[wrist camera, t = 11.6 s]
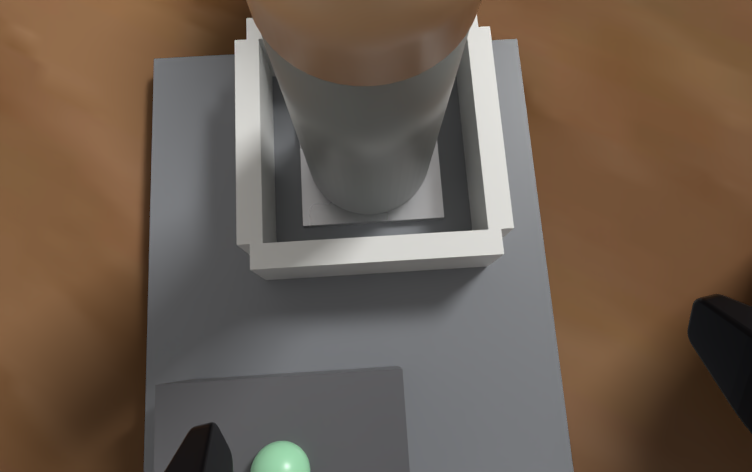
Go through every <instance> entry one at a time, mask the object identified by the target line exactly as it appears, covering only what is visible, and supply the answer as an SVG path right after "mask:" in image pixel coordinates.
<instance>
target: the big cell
mask: <svg viewBox="0 0 752 472" xmlns="http://www.w3.org/2000/svg"><path fill="white" fill-rule="evenodd" d="M246 2H247V4H248V7H249V10H250V12H251V15H252V17H253V20H254V22H255V24H256V26H257V28H258V30H259V31H260V33H261V35H262V38H263V41H264V44H265V47H266V50H267V52H268V55H269V58H270V61H271V64H272V66H273V69H274V72H275V75H276V78H277V80H278V83H279V86H280V89H281V92H282V94H283V97H284V100H285V103H286V106H287V108H288V111H289V114H290V117H291V120H292V122H293V125H294V128H295V131H296V134H297V136H298V139H299V142H300V145H301V148H302V150H303V153H304V156H305V159H306V162H307V164H308V167H309V170H310V173H311V175H312V178H313V180H314V182H315V184H316V186H317V188H318V189H319V190H320V192H321V193H322V194H323V195H324V196H325V197H326V198H327V199H328V200H329V201H331V202H332V203H333V204H335V205H337V206H338V207H340V208H342V209H345V210H347V211H350V212H354V213H359V214H379V213H384V212H388V211H390V210H393V209H396V208H397V207H399V206H401V205H403V204H404V203H406V202H407V201H408V200H410V199H411V198H412V197H413V196H414V195H415V194H416V192H417V191H418V190H419V188H420V187H421V185H422V184H423V182H424V180H425V177H426V175H427V172H428V168H429V165H430V161H431V158H432V155H433V151H434V148H435V145H436V141H437V138H438V134H439V131H440V128H441V124H442V121H443V118H444V114H445V111H446V108H447V104H448V101H449V97H450V94H451V91H452V87H453V84H454V81H455V77H456V74H457V70H458V67H459V64H460V60H461V57H462V54H463V50H464V47H465V44H466V40H467V37H468V33H469V30H470V28H471V26H472V24H473V22H474V19H475V17H476V15H477V12H478V9H479V6H480V3H481V0H246Z"/></svg>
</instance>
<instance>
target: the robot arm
mask: <svg viewBox="0 0 752 472" xmlns="http://www.w3.org/2000/svg"><path fill="white" fill-rule="evenodd" d="M688 337H689V340H690V342H691V344H692V346H693V347H694V349H695V350H696V352H697V354H698V355H699V357H700V358H701V360H702V361H703V363H704V365H705V366H706V368H707V369H708V371H709V372H710V374H711V375H712V377H713V379H714V380H715V382H716V383H717V385H718V386H719V388H720V390H721V391H722V393H723V394H724V396H725V397H726V399H727V401H728V402H729V404H730V405H731V407H732V408H733V409H734V411H735V412H736V414H737V415H738V416H739V418H740V419H741V420H742V422H743V423H744V424H745V426H746V427H747V428H748V430H749V431H750V432H751V433H752V307H751V306H749V305H746V304H744V303H741V302H739V301H736V300H734V299H731V298H729V297H726V296H723V295H720V294H713V295H709V296H705V297H701V298H698V299H696V300H695V301H694V303H693V306H692V311H691V316H690V320H689V325H688ZM164 472H233V459H232V454H231V450H230V448H229V446H228V444H227V442H226V440H225V438H224V436H223V434H222V433H221V431H220V429H219V427H218V425H217V424H216V423H214V422H210V423H206V424H202V425H198V426H194V427H193V428H191V429H190V430H189V432H188V433H187V435H186V437H185V438H184V440H183V442H182V443H181V445H180V446H179V448H178V450H177V451H176V453H175V455H174V456H173V458H172V460H171V461H170V463H169V465H168V466H167V468H166V469H165V471H164Z"/></svg>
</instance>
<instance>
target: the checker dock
mask: <svg viewBox="0 0 752 472" xmlns="http://www.w3.org/2000/svg"><path fill="white" fill-rule="evenodd" d="M246 31H247V39H246V40H235V54H232V55H214V56H195V57H177V58H159V59H154V80H153V120H152V160H151V200H150V240H149V279H148V319H147V359H146V399H145V439H144V472H164V471H165V469H166V468H167V466H168V465H169V463H170V461H171V460H172V458H173V456H174V455H175V453H176V451H177V450H178V448H179V446H180V445H181V443H182V442H183V440H184V438H185V437H186V435H187V433H188V432H189V430H190V429H191V428H193V427H194V426H198V425H202V424H206V423H210V422H214V423H216V424H217V425H218V427H219V429H220V431H221V433H222V434H223V436H224V438H225V440H226V442H227V444H228V446H229V448H230V450H231V454H232V459H233V472H574V470H573V463H572V455H571V447H570V440H569V432H568V425H567V417H566V409H565V402H564V394H563V386H562V379H561V371H560V363H559V356H558V348H557V341H556V333H555V325H554V318H553V310H552V302H551V295H550V287H549V279H548V272H547V264H546V257H545V249H544V241H543V234H542V226H541V218H540V211H539V203H538V195H537V188H536V180H535V173H534V165H533V157H532V150H531V142H530V134H529V127H528V119H527V111H526V104H525V96H524V89H523V81H522V73H521V66H520V58H519V50H518V43H517V39H507V40H491V32H490V26H487V27H478V22H477V15H476V17H475V19H474V22H473V24H472V26H471V28H470V30H469V33H468V37H467V40H466V44H465V47H464V50H463V54H462V57H461V60H460V64H459V67H458V70H457V74H456V77H455V81H454V84H453V87H452V91H451V94H450V97H449V101H448V104H447V108H446V111H445V114H444V118H443V121H442V124H441V128H440V131H439V134H438V138H437V141H436V145H435V148H434V151H433V155H432V158H431V161H430V165H429V168H428V172H427V175H426V177H425V180H424V182H423V184H422V185H421V187H420V188H419V190H418V191H417V192H416V194H415V195H414V196H413V197H412V198H411V199H410V200H408V201H407V202H406V203H404V204H403V205H401V206H399V207H397V208H396V209H393V210H390V211H388V212H384V213H379V214H359V213H354V212H350V211H347V210H345V209H342V208H340V207H338V206H337V205H335V204H333V203H332V202H331V201H329V200H328V199H327V198H326V197H325V196H324V195H323V194H322V193H321V192H320V190H319V189H318V188H317V186H316V184H315V182H314V180H313V178H312V175H311V173H310V170H309V167H308V164H307V162H306V159H305V156H304V153H303V150H302V148H301V145H300V142H299V139H298V136H297V134H296V131H295V128H294V125H293V122H292V120H291V117H290V114H289V111H288V108H287V106H286V103H285V100H284V97H283V94H282V92H281V89H280V86H279V83H278V80H277V78H276V75H275V72H274V69H273V66H272V64H271V61H270V58H269V55H268V52H267V50H266V47H265V44H264V41H263V38H262V35H261V33H260V31H259V30H258V28H257V26H256V24H255V22H254V20H253V18H246Z"/></svg>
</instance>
